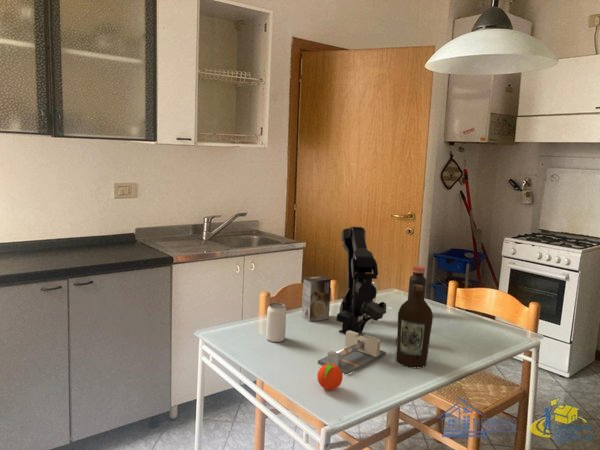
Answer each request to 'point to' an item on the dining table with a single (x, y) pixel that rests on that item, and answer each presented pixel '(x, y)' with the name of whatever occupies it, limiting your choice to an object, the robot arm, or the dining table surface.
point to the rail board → (354, 361)
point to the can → (276, 322)
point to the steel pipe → (344, 353)
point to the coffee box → (316, 298)
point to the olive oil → (414, 330)
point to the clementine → (329, 376)
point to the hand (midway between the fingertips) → (357, 337)
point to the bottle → (417, 279)
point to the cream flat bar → (369, 347)
